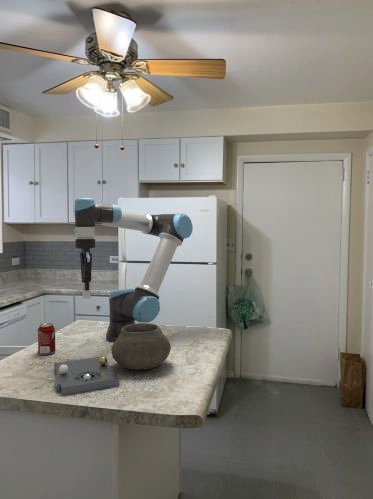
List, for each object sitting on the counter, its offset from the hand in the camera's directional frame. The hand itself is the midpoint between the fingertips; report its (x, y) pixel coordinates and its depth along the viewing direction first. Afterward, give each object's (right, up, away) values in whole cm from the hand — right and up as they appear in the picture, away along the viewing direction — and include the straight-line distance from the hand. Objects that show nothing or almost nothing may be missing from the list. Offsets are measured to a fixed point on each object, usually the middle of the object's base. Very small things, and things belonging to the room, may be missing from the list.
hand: (86, 298), depth 151 cm
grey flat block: (+4, -25, -17) cm, 31 cm away
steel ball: (+6, -24, -23) cm, 34 cm away
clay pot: (+22, -25, -7) cm, 34 cm away
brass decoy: (+9, -21, -12) cm, 26 cm away
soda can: (-19, -24, +9) cm, 32 cm away
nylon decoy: (-2, -21, -21) cm, 30 cm away
